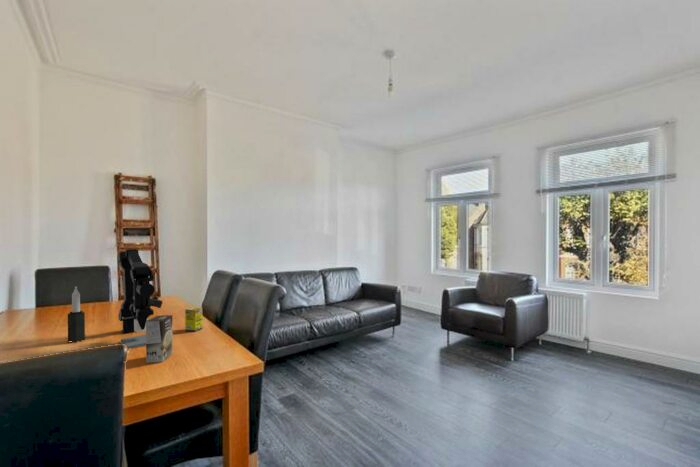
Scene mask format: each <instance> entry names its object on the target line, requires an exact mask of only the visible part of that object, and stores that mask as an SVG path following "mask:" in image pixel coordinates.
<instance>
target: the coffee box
mask: <svg viewBox="0 0 700 467" xmlns="http://www.w3.org/2000/svg"><path fill="white" fill-rule="evenodd" d="M148 319H149V320H147V321H146V331H145V335H146V346H145V351H146V352H145V356H146V358H145V359H146V360H145V362H146V363H147V364H149V363H163V362H164V361H165V360H167V359H168V358H170V357H171V356H172V355H173V350H174V349H173V315H169V314H167V315H166V314H165V315H156V316H154V317H151V318H148Z"/></svg>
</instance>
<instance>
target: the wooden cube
mask: <svg viewBox="0 0 700 467" xmlns="http://www.w3.org/2000/svg"><path fill="white" fill-rule="evenodd" d="M149 319H150V318H149V317H148V318H147V320H149ZM134 331H135V333H143V332H146V324H145V328H144V329H143V330H142V329H141V328H140V325H139V323H138V321H137V319H134Z"/></svg>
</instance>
